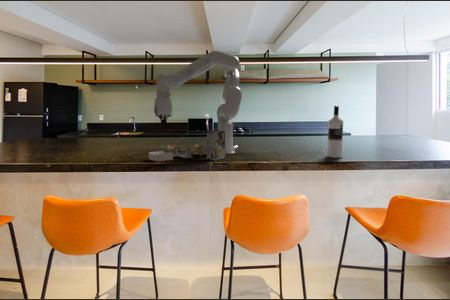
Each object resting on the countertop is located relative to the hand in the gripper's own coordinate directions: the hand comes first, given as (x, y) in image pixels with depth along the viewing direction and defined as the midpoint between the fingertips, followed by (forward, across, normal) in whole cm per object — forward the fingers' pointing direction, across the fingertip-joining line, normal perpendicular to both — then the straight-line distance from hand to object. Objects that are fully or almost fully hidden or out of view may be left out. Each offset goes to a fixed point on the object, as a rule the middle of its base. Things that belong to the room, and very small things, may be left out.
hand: (163, 126), depth 184 cm
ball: (+13, -17, +9) cm, 23 cm away
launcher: (+14, -9, +5) cm, 18 cm away
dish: (+18, +8, +9) cm, 22 cm away
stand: (+18, -10, +7) cm, 22 cm away
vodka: (+17, -72, +72) cm, 103 cm away
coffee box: (+18, -16, +29) cm, 38 cm away
